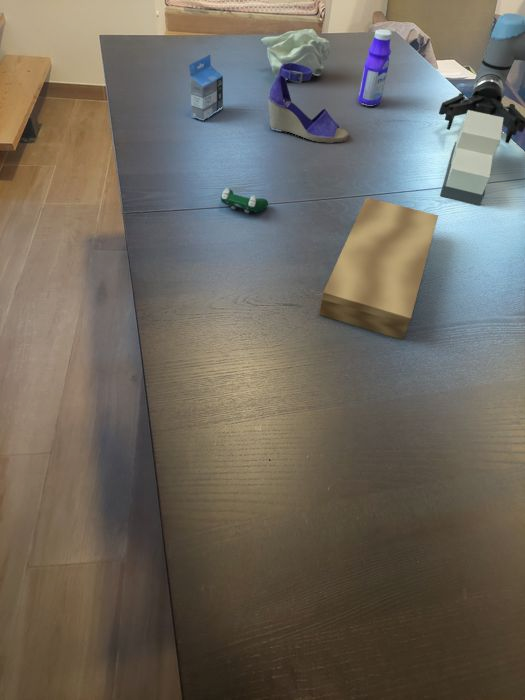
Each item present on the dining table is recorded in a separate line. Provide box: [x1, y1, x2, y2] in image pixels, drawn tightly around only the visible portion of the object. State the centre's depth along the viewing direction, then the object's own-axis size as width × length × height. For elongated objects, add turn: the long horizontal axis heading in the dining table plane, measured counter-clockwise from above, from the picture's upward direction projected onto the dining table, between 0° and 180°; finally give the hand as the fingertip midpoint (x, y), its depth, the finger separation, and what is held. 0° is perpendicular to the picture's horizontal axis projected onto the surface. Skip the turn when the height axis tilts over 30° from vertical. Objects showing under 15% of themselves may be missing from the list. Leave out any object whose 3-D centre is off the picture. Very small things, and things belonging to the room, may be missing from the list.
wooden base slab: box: [318, 196, 439, 341], centre depth 90 cm, size 14×30×5 cm, turn 159°
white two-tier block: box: [439, 110, 504, 206], centre depth 113 cm, size 8×22×10 cm, turn 159°
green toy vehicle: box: [220, 187, 269, 214], centre depth 101 cm, size 9×4×6 cm
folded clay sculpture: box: [260, 28, 332, 79], centre depth 144 cm, size 18×13×16 cm
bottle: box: [357, 28, 393, 105], centre depth 133 cm, size 7×6×17 cm
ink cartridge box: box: [188, 54, 224, 119], centre depth 125 cm, size 9×4×12 cm, turn 150°
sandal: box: [268, 63, 349, 144], centre depth 120 cm, size 8×20×15 cm, turn 71°
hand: (479, 130), depth 118 cm, fingers open, 13 cm apart
